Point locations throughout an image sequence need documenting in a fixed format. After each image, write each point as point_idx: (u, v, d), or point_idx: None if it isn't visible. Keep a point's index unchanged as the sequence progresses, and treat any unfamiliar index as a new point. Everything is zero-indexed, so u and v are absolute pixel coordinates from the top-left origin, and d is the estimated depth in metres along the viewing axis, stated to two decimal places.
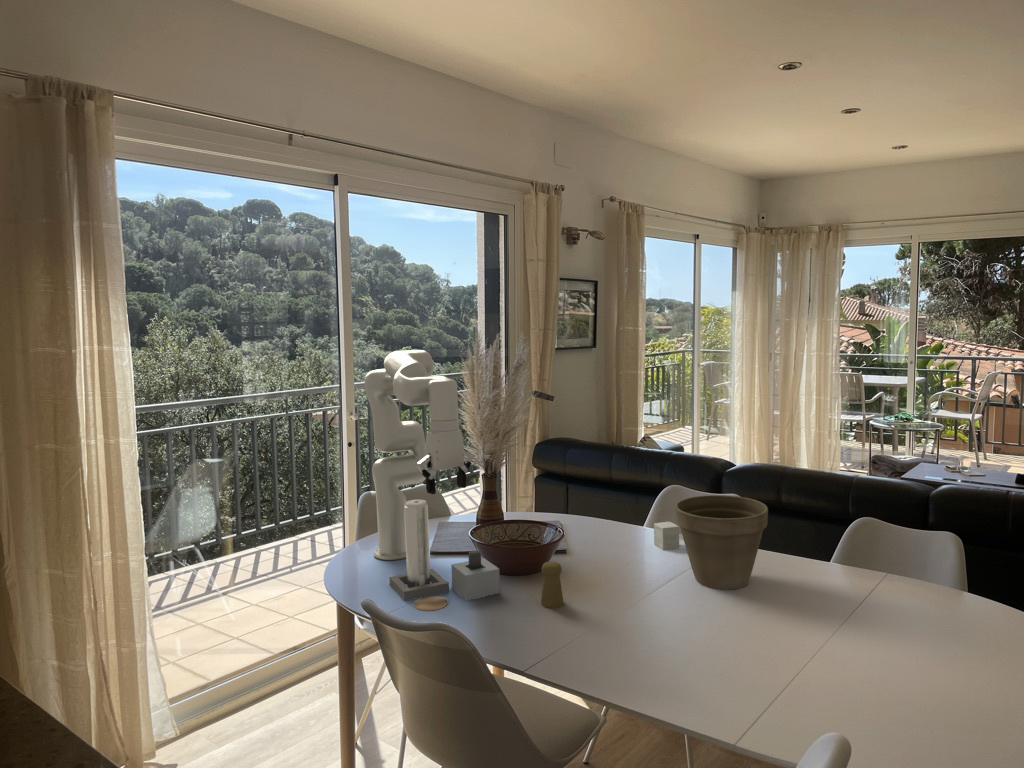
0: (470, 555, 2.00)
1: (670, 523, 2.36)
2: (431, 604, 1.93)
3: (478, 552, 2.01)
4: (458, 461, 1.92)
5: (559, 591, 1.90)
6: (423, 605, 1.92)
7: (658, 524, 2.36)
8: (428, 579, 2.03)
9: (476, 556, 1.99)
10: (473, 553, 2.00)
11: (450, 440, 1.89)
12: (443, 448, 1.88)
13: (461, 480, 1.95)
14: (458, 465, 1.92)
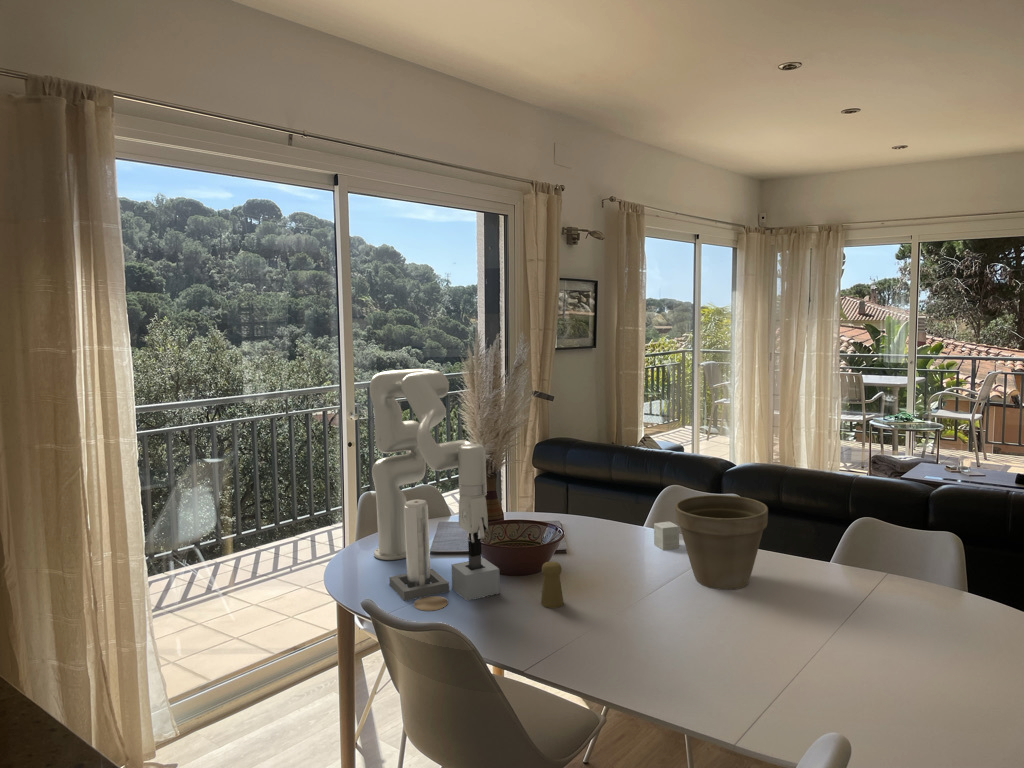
0: (470, 557, 2.00)
1: (670, 523, 2.36)
2: (431, 604, 1.93)
3: None
4: None
5: (559, 591, 1.90)
6: (423, 605, 1.92)
7: (658, 524, 2.36)
8: (428, 579, 2.03)
9: (476, 558, 1.99)
10: (473, 556, 2.00)
11: None
12: None
13: None
14: None
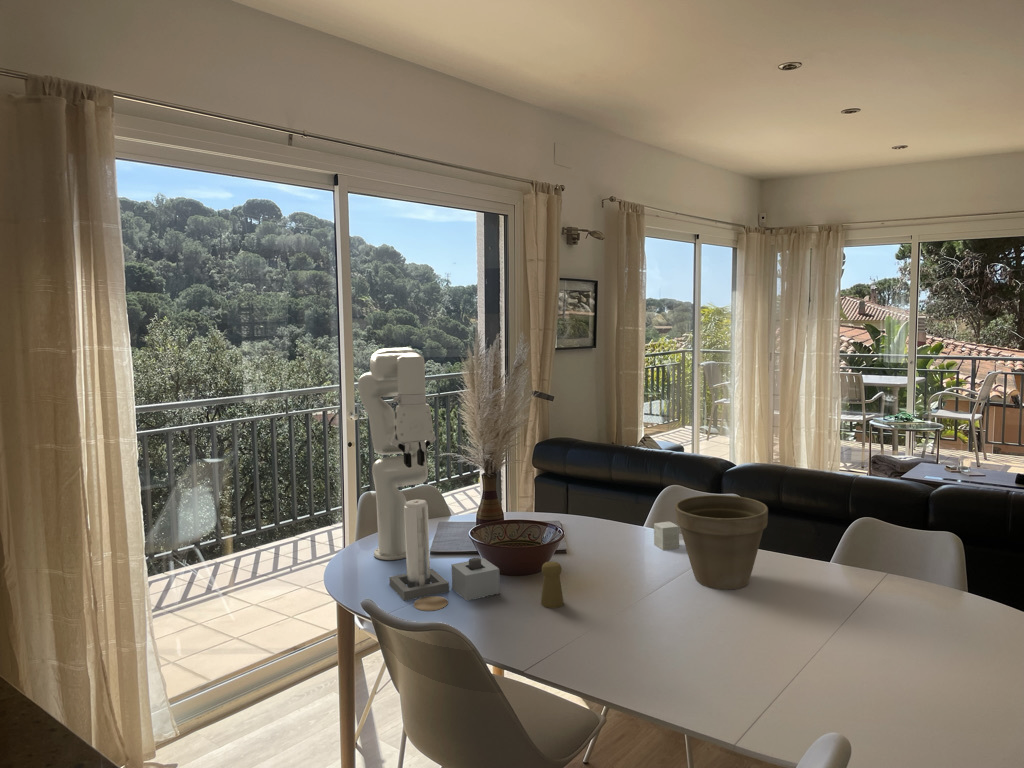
0: (470, 562, 2.00)
1: (670, 523, 2.36)
2: (431, 604, 1.93)
3: (478, 559, 2.01)
4: None
5: (559, 591, 1.90)
6: (423, 605, 1.92)
7: (658, 524, 2.36)
8: (428, 579, 2.03)
9: (476, 563, 2.00)
10: (474, 561, 2.00)
11: None
12: None
13: None
14: None
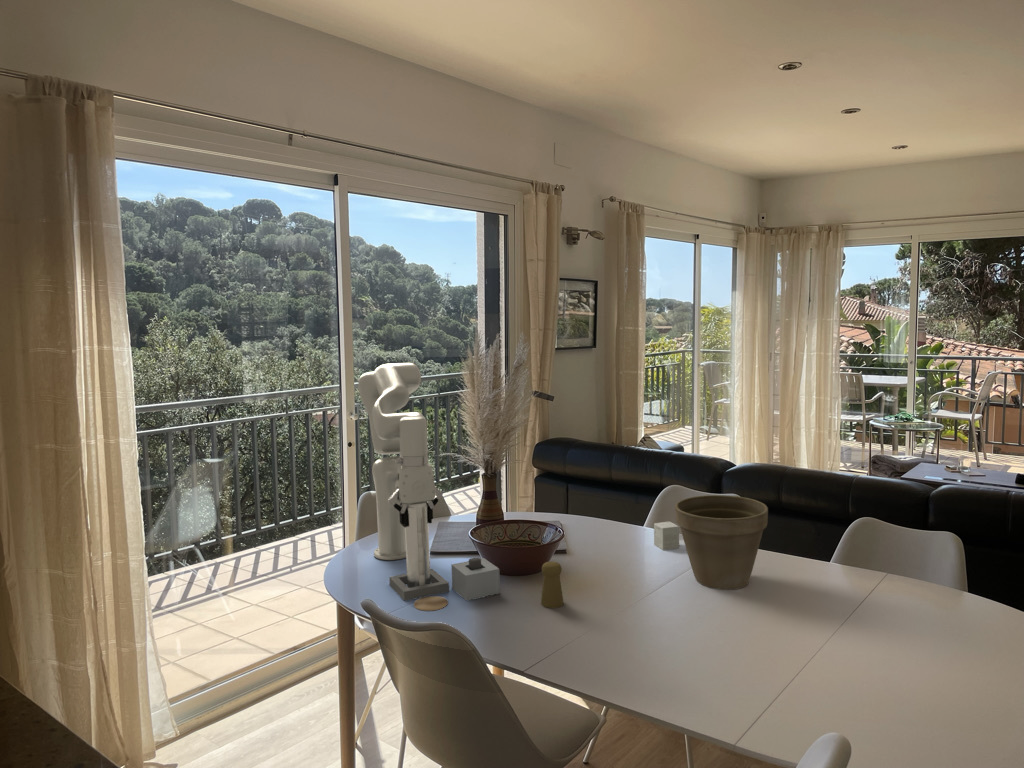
0: (470, 562, 2.00)
1: (670, 523, 2.36)
2: (431, 604, 1.93)
3: (478, 559, 2.01)
4: None
5: (559, 591, 1.90)
6: (423, 605, 1.92)
7: (658, 524, 2.36)
8: (428, 579, 2.03)
9: (476, 563, 2.00)
10: (474, 561, 2.00)
11: None
12: None
13: None
14: None
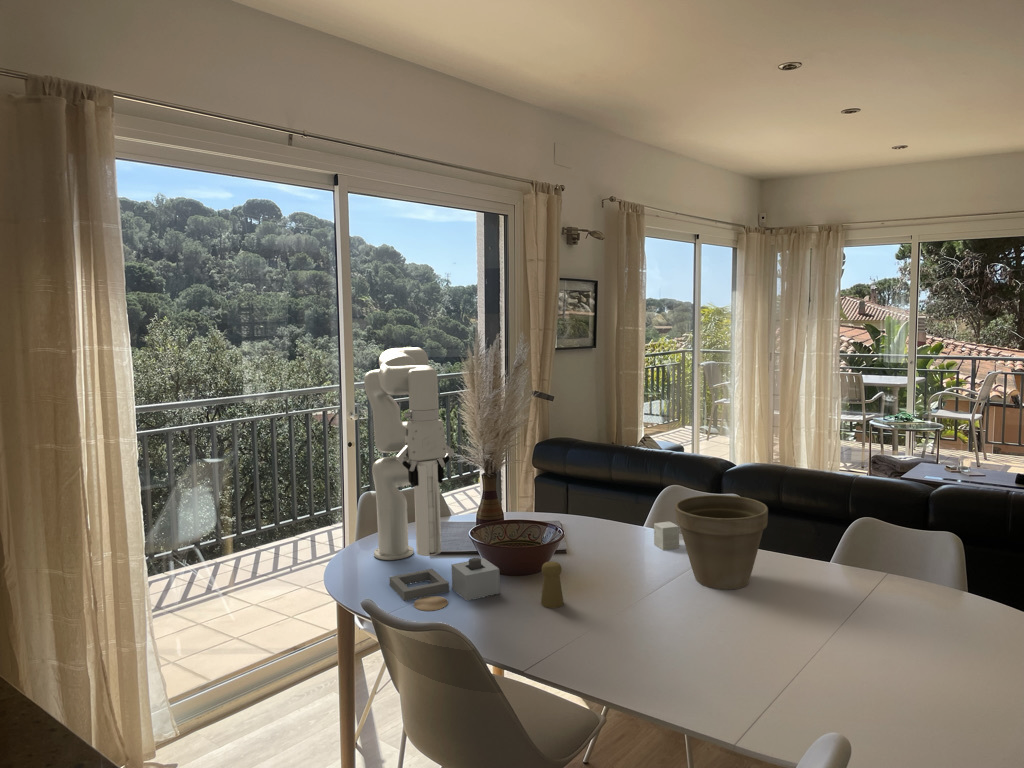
0: (470, 562, 2.00)
1: (670, 523, 2.36)
2: (431, 604, 1.93)
3: (478, 559, 2.01)
4: None
5: (559, 591, 1.90)
6: (423, 605, 1.92)
7: (658, 524, 2.36)
8: (439, 542, 1.91)
9: (476, 563, 2.00)
10: (474, 561, 2.00)
11: None
12: None
13: None
14: None
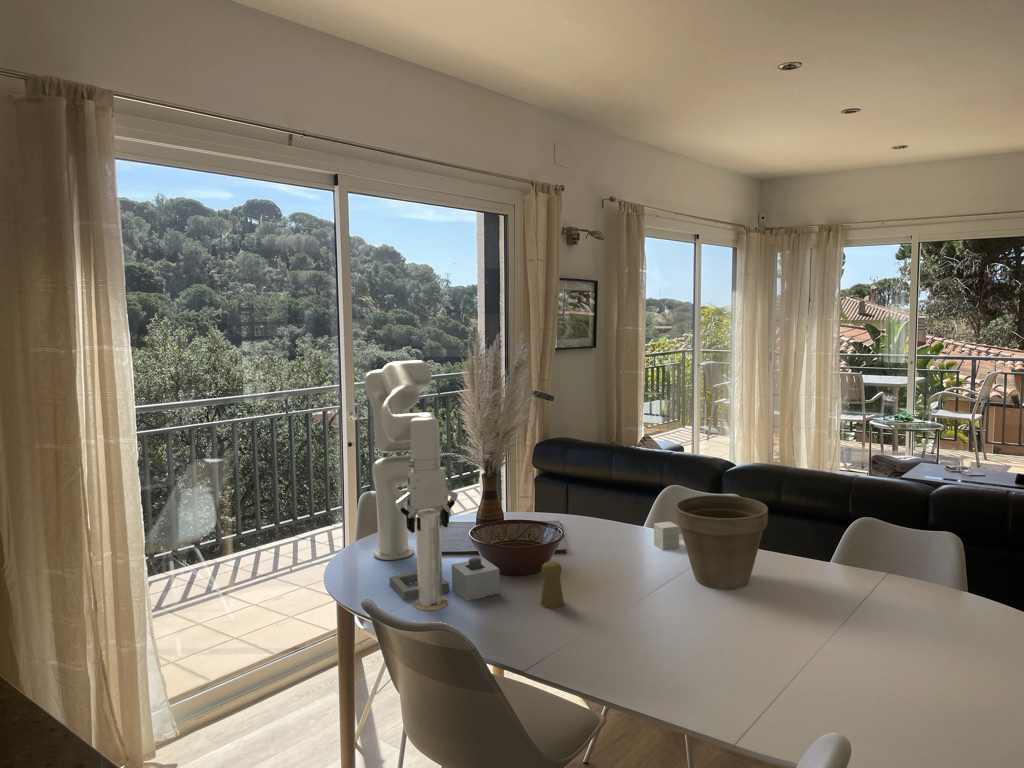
0: (470, 562, 2.00)
1: (670, 523, 2.36)
2: None
3: (478, 559, 2.01)
4: None
5: (559, 591, 1.90)
6: None
7: (658, 524, 2.36)
8: (440, 593, 1.92)
9: (476, 563, 2.00)
10: (474, 561, 2.00)
11: None
12: None
13: None
14: None
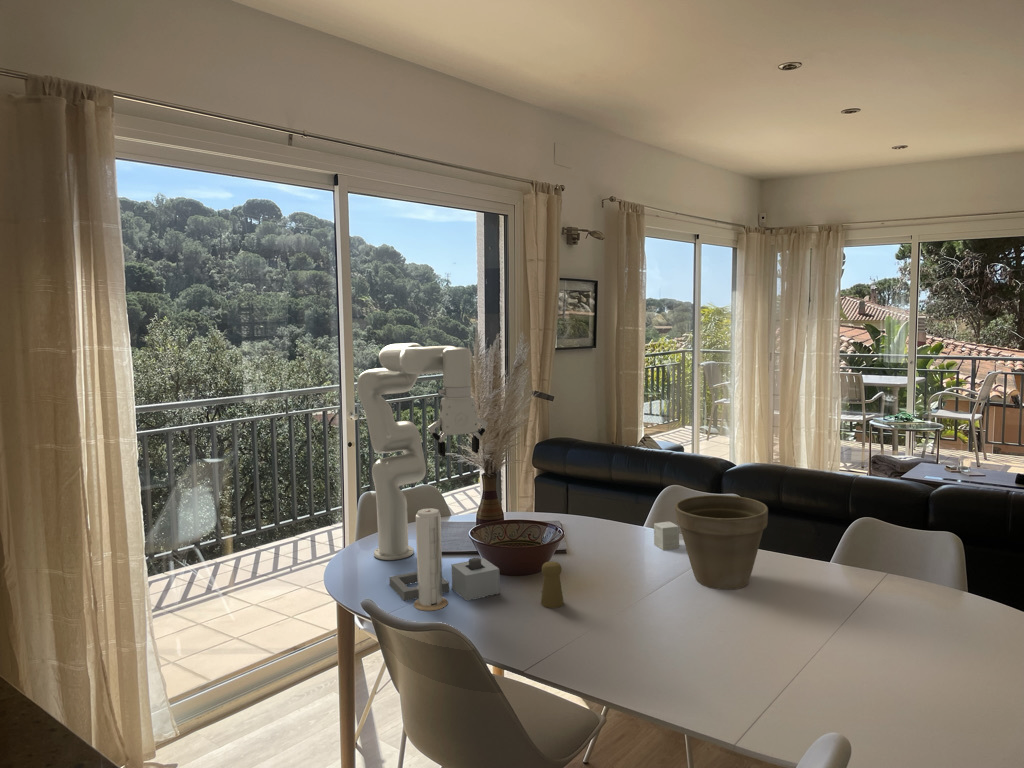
0: (470, 562, 2.00)
1: (670, 523, 2.36)
2: None
3: (478, 559, 2.01)
4: None
5: (559, 591, 1.90)
6: None
7: (658, 524, 2.36)
8: (440, 593, 1.92)
9: (476, 563, 2.00)
10: (474, 561, 2.00)
11: None
12: None
13: None
14: None
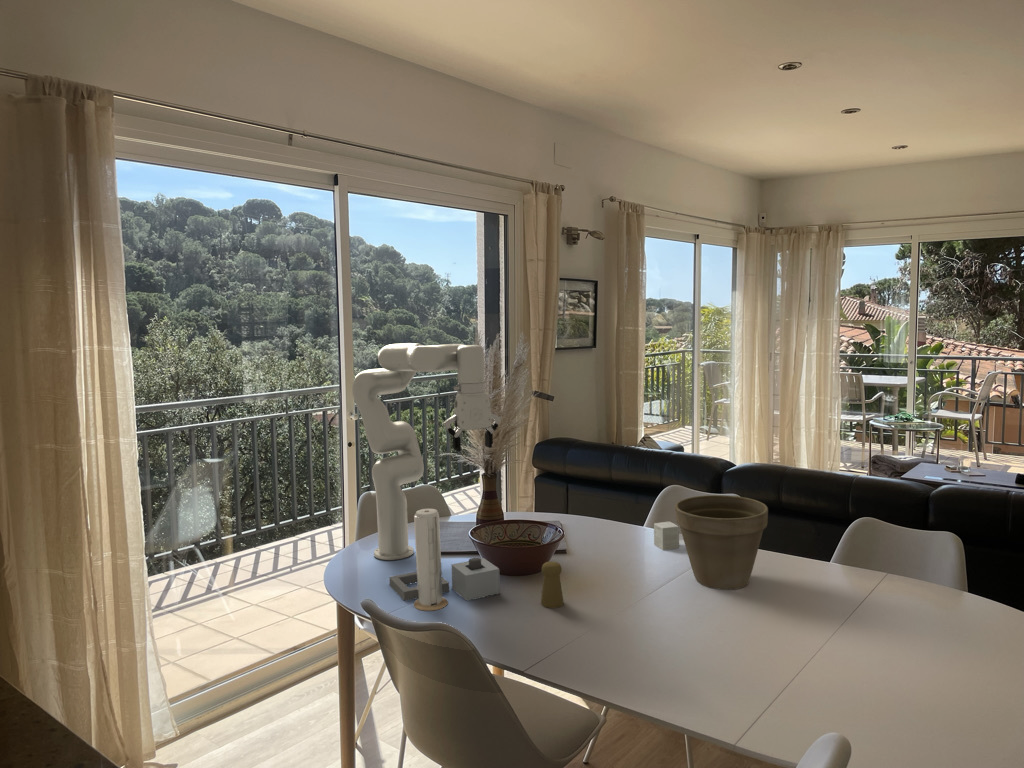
0: (470, 562, 2.00)
1: (670, 523, 2.36)
2: None
3: (478, 559, 2.01)
4: None
5: (559, 591, 1.90)
6: None
7: (658, 524, 2.36)
8: (440, 593, 1.92)
9: (476, 563, 2.00)
10: (474, 561, 2.00)
11: None
12: None
13: None
14: None
